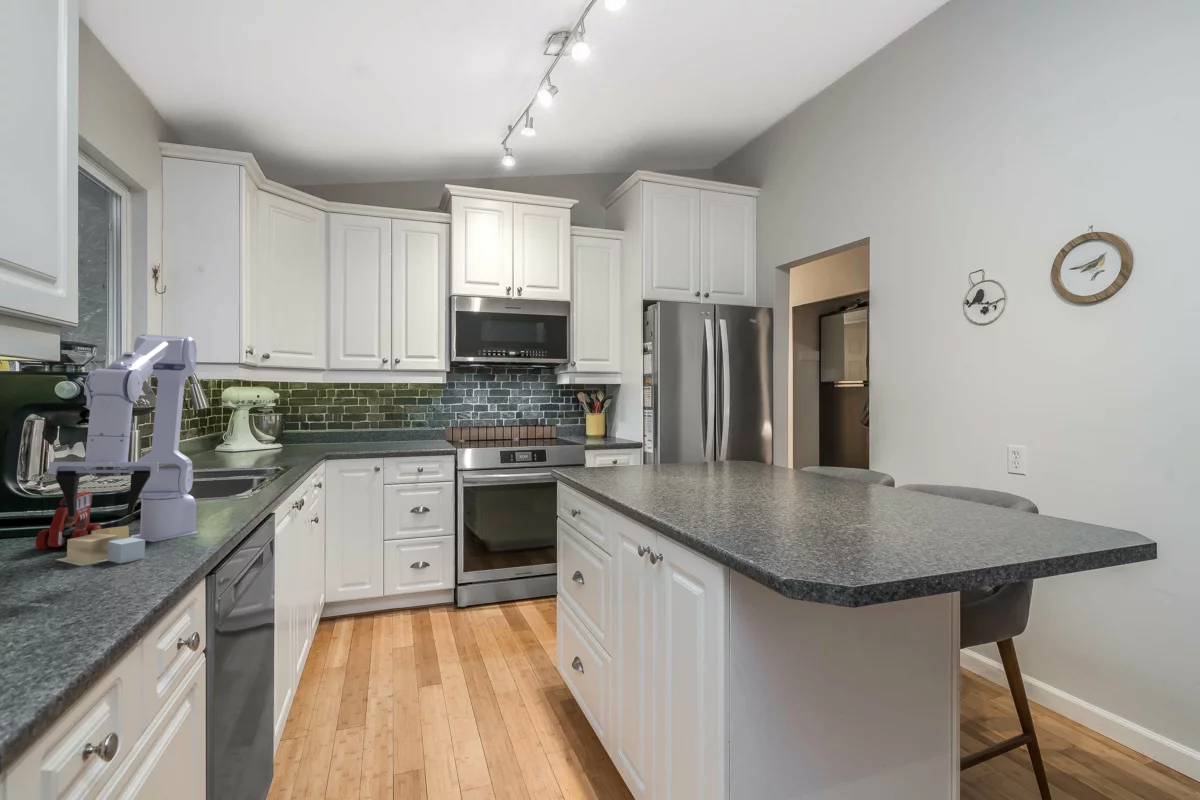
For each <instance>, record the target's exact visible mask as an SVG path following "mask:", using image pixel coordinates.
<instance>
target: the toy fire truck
mask: <svg viewBox="0 0 1200 800" xmlns="http://www.w3.org/2000/svg"><path fill="white" fill-rule="evenodd" d="M92 503H93V493H92V492H91V491H83V492H80V493H77V511H76V516H74V517H68V508H67V503H66V500H65V497H63V498H62V499H60V502H59V505H60V506H59V507H58V508H56V509H55V512H54V515H53V517H52V520H51V523H50V526H49V528H48V529H47V528H46V529H42V530H41V531H39V532H38V533H37V536H36V538H35V547H36V550H39V551H41V550H43V551H44V550H45V551H46V550H48V549H50V548H51V549H52V548H59V547H67V543H68V539H72V538H77V537H81V536H86V535H91V531H94V530H100V529H103V528H102V526H101V524H100V523H99V522H97V523H96V522H95V523H90V518H91V517H90V516H91V506H92Z"/></svg>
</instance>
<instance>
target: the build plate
mask: <svg viewBox="0 0 1200 800" xmlns="http://www.w3.org/2000/svg"><path fill="white" fill-rule="evenodd" d="M55 561H59V562H64V563H68V564H71V565H76V566H79V567H82V566H86V565H87V566H88V565H93V564H97V563H103V562H108V561H107V559H105V560H102V561H98V562H94V563H91V564H89V563H79V562H68V561H67V556H65V557H62V558H61V557H59V558H57V559H56V558H55Z"/></svg>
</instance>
